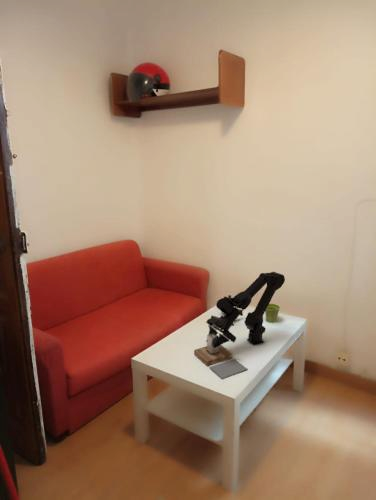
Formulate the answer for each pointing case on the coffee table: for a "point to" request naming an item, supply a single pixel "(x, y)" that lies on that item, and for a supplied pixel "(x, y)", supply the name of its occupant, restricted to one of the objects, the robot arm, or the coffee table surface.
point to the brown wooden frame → (212, 359)
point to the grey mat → (228, 368)
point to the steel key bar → (212, 344)
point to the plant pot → (272, 312)
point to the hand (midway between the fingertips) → (210, 344)
